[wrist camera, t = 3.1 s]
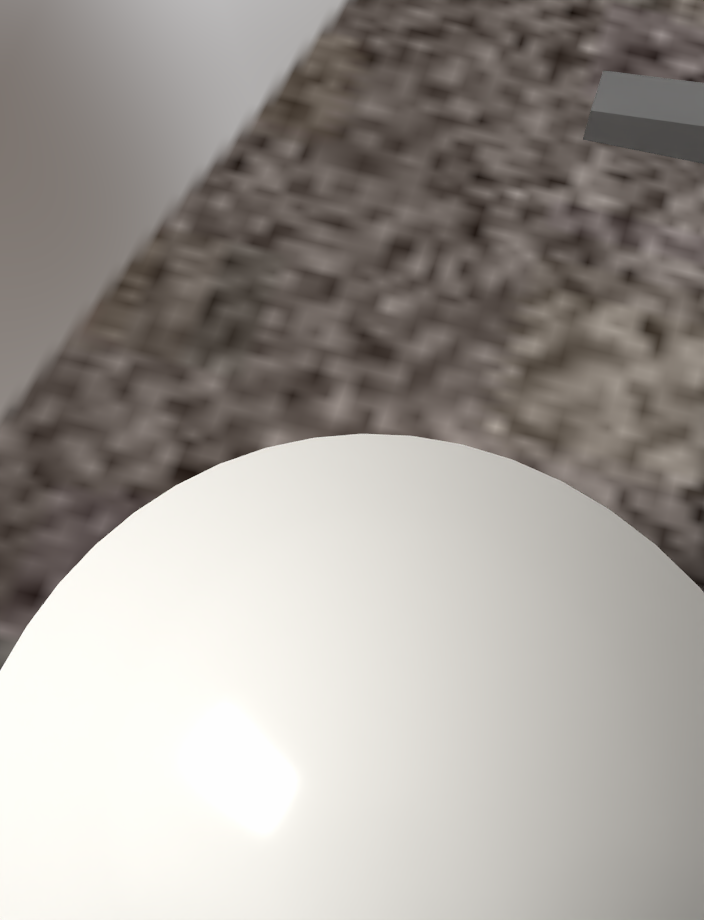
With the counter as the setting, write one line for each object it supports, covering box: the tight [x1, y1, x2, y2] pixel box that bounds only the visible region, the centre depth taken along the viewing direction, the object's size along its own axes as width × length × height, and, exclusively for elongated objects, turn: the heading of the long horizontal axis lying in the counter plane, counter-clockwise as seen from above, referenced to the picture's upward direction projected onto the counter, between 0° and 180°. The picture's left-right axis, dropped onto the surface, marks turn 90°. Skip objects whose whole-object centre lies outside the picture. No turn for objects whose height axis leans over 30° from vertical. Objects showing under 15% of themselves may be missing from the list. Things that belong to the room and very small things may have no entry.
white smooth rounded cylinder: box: [0, 434, 704, 920], centre depth 10 cm, size 7×7×11 cm
